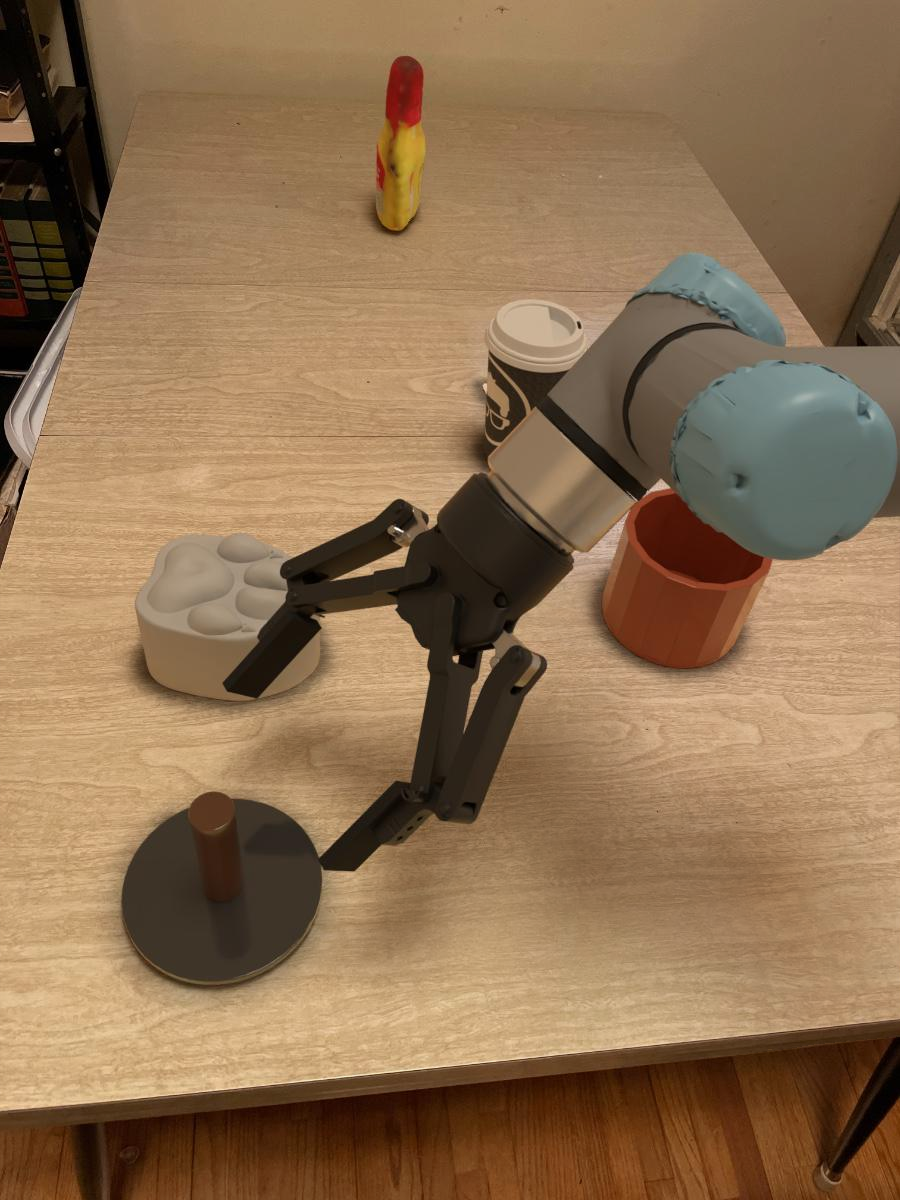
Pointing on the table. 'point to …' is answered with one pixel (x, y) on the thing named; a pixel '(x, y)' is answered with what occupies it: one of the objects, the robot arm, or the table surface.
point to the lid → (221, 890)
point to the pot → (678, 585)
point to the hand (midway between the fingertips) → (284, 773)
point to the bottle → (401, 146)
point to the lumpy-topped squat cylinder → (214, 613)
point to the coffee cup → (526, 361)
